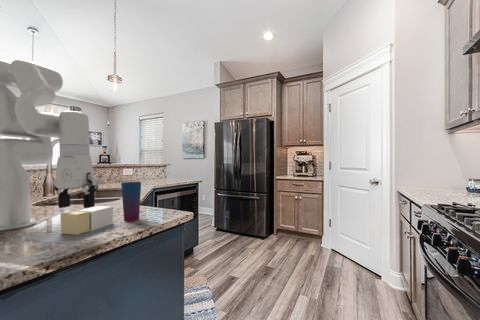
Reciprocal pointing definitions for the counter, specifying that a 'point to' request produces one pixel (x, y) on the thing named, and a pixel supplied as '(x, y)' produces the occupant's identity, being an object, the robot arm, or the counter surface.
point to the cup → (131, 200)
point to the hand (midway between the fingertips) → (76, 207)
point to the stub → (74, 222)
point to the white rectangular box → (99, 216)
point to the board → (71, 235)
